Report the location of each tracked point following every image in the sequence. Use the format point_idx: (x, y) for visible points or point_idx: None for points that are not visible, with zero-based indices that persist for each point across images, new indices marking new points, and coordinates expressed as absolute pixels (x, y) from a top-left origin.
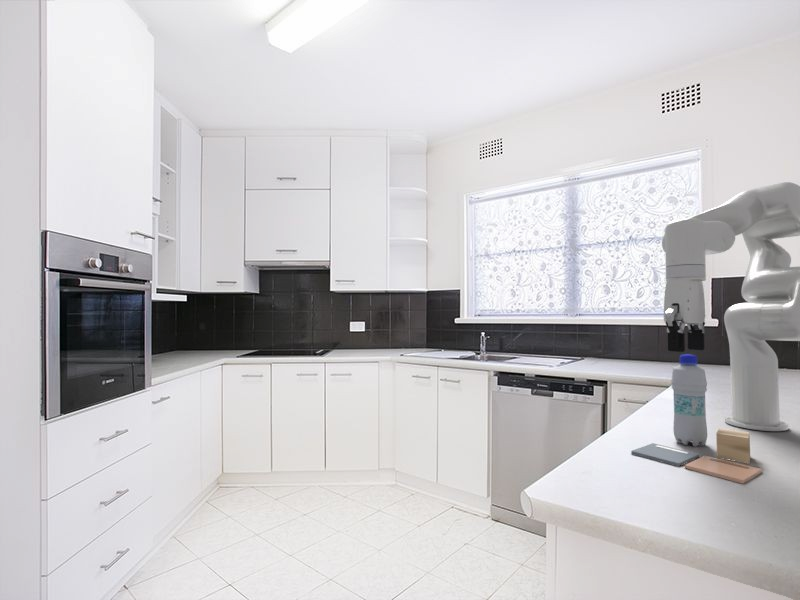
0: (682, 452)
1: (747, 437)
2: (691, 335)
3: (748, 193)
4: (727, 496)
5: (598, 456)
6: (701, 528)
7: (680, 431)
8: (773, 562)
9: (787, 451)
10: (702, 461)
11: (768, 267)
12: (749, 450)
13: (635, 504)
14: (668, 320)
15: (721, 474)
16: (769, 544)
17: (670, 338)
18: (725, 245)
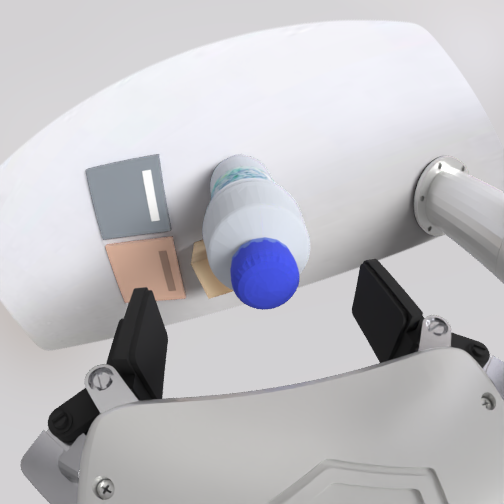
0: (150, 214)
1: (211, 297)
2: (391, 322)
3: None
4: (82, 304)
5: (40, 157)
6: (26, 314)
7: (210, 183)
8: (39, 345)
9: (322, 274)
10: (140, 250)
11: None
12: None
13: (5, 272)
14: (46, 441)
15: (118, 284)
16: (51, 341)
17: (110, 350)
18: None
